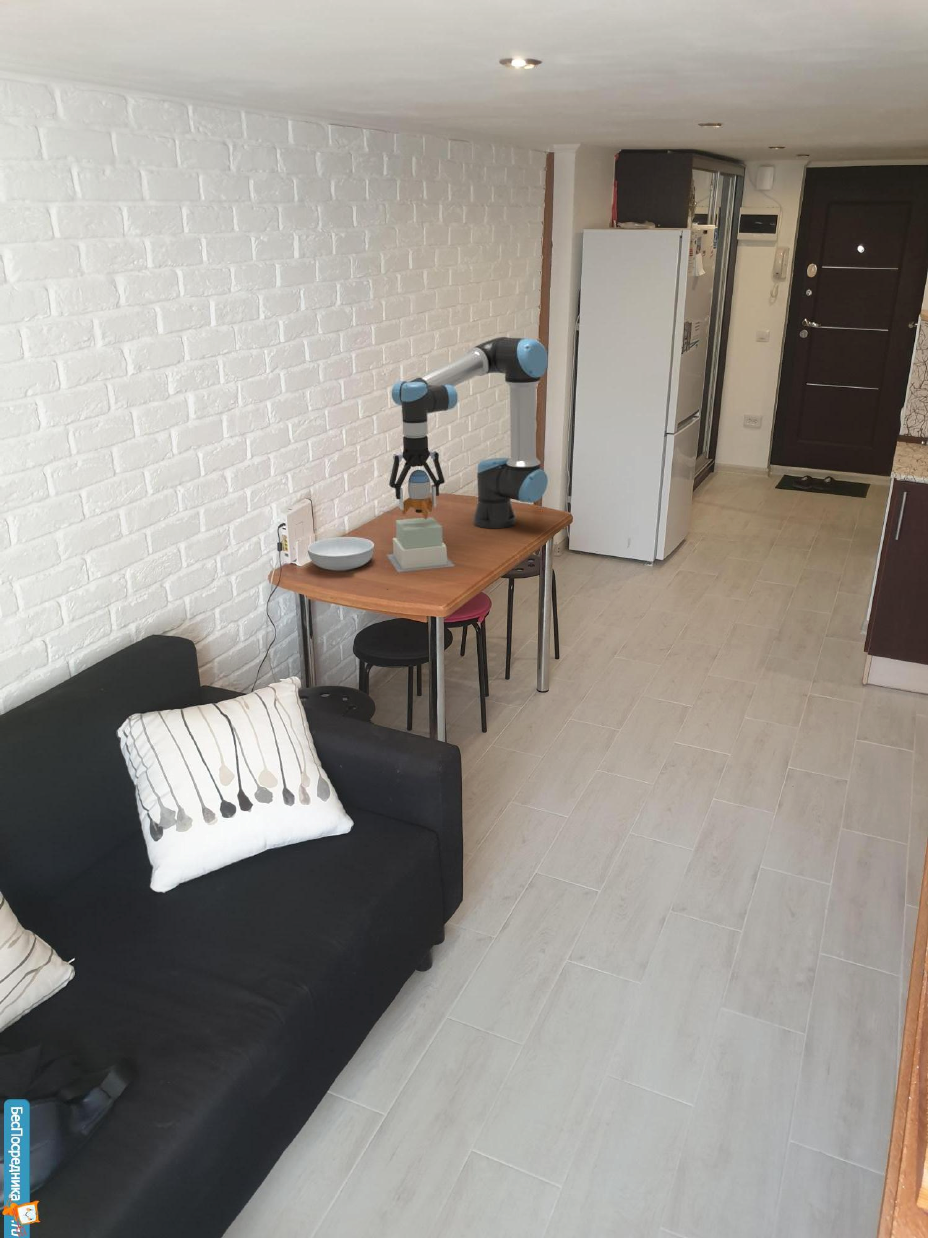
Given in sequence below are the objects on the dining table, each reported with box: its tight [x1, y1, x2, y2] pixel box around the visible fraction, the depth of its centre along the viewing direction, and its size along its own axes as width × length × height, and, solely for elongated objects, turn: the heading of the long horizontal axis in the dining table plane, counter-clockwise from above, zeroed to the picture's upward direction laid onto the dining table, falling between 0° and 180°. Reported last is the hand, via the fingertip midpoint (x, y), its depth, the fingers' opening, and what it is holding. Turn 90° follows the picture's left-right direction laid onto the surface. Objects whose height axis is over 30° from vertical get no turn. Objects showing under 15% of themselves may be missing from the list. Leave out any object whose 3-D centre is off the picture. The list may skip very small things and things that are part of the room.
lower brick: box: [392, 537, 448, 569], centre depth 299 cm, size 14×14×6 cm
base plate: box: [386, 553, 455, 573], centre depth 300 cm, size 18×18×1 cm
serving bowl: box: [307, 536, 375, 572], centre depth 298 cm, size 21×21×7 cm
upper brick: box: [395, 516, 443, 549], centre depth 297 cm, size 12×12×6 cm
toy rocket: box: [400, 469, 433, 519], centre depth 291 cm, size 10×11×15 cm
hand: (417, 507), depth 293 cm, fingers closed on toy rocket, 10 cm apart
